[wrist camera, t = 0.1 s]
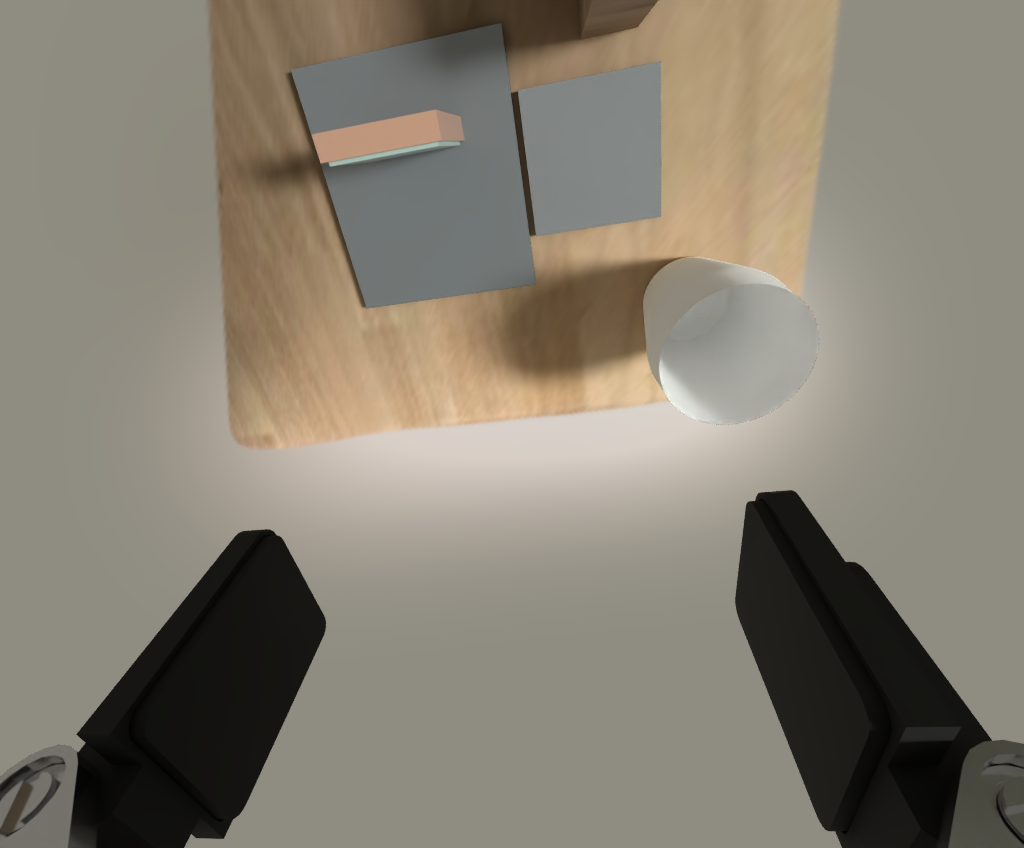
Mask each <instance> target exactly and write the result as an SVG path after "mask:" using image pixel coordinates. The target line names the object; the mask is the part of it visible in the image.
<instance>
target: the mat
mask: <svg viewBox="0 0 1024 848" xmlns="http://www.w3.org/2000/svg"><path fill="white" fill-rule="evenodd" d="M291 72H292V75H293V79H294V82H295V85H296V88H297V91H298V94H299V97H300V101H301V104H302V107H303V110H304V113H305V116H306V119H307V123H308V126H309V129H310V132H311V135H312V134H316V133H321V132H326V131H331V130H336V129H341V128H346V127H351V126H356V125H361V124H366V123H371V122H376V121H381V120H386V119H391V118H396V117H401V116H406V115H411V114H416V113H421V112H426V111H431V110H439V111H443V112H446V113H450V114H453V115H457V116H460V117H461V122H462V128H463V133H464V139H465V141H460V145H459V146H453V147H448V148H443V149H437V150H432V151H427V152H422V153H416V154H411V155H406V156H400V157H395V158H390V159H384V160H379V161H374V162H367V163H358V164H349V165H340V166H331V167H330V165H329V163H321V167H322V170H323V173H324V176H325V179H326V182H327V185H328V189H329V192H330V195H331V198H332V201H333V204H334V207H335V211H336V214H337V217H338V220H339V223H340V226H341V229H342V233H343V236H344V239H345V242H346V245H347V248H348V251H349V255H350V258H351V261H352V264H353V267H354V270H355V273H356V277H357V280H358V283H359V286H360V289H361V292H362V295H363V299H364V302H365V305H366V308H374V307H381V306H388V305H395V304H402V303H409V302H416V301H423V300H430V299H437V298H444V297H451V296H458V295H465V294H472V293H479V292H486V291H493V290H500V289H507V288H514V287H521V286H528V285H535V284H536V279H535V272H534V264H533V257H532V249H531V242H530V234H529V226H528V219H527V211H526V204H525V196H524V189H523V181H522V173H521V166H520V158H519V151H518V143H517V135H516V128H515V120H514V113H513V105H512V98H511V90H510V82H509V75H508V67H507V60H506V52H505V45H504V37H503V29H502V24H501V23H498V24H494V25H489V26H485V27H481V28H476V29H472V30H467V31H463V32H458V33H454V34H449V35H445V36H440V37H436V38H431V39H427V40H422V41H418V42H413V43H409V44H404V45H400V46H395V47H391V48H386V49H382V50H377V51H373V52H368V53H364V54H359V55H355V56H350V57H346V58H341V59H337V60H332V61H328V62H324V63H319V64H315V65H310V66H306V67H301V68H297V69H292V70H291ZM314 145H315V144H314ZM315 148H316V147H315ZM316 151H317V150H316ZM317 154H318V153H317ZM318 157H319V156H318Z"/></svg>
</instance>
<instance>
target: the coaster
mask: <svg viewBox="0 0 1024 848" xmlns="http://www.w3.org/2000/svg"><path fill="white" fill-rule="evenodd" d="M518 96H519V104H520V112H521V120H522V128H523V136H524V144H525V152H526V160H527V168H528V176H529V184H530V191H531V199H532V207H533V215H534V223H535V231H536V236H541V235H547V234H554V233H560V232H567V231H573V230H579V229H586V228H592V227H598V226H605V225H611V224H617V223H624V222H630V221H637V220H643V219H649V218H656V217H661V61H660V62H655V63H650V64H645V65H640V66H635V67H630V68H625V69H620V70H615V71H610V72H605V73H600V74H595V75H591V76H586V77H581V78H576V79H571V80H566V81H561V82H556V83H551V84H546V85H541V86H536V87H531V88H526V89H521V90H518Z"/></svg>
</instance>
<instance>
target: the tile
mask: <svg viewBox="0 0 1024 848" xmlns="http://www.w3.org/2000/svg"><path fill="white" fill-rule="evenodd" d="M312 138H313V141H314V144H315V147H316V150H317V153H318V156H319V160H320V163H329V165H330V167H331V166H340V165H349V164H358V163H367V162H374V161H379V160H384V159H390V158H395V157H400V156H406V155H411V154H416V153H422V152H427V151H432V150H437V149H443V148H448V147H453V146H459V145H460V141H465V139H464V133H463V128H462V122H461V117H460V116H457V115H453V114H450V113H446V112H443V111H439V110H431V111H426V112H421V113H416V114H411V115H406V116H401V117H396V118H391V119H386V120H381V121H376V122H371V123H366V124H361V125H356V126H351V127H346V128H341V129H336V130H331V131H326V132H321V133H316V134H312Z"/></svg>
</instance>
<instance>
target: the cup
mask: <svg viewBox="0 0 1024 848" xmlns="http://www.w3.org/2000/svg"><path fill="white" fill-rule="evenodd" d="M643 313H644V325H645V337H646V348H647V357H648V361H649V365H650V368H651V371H652V373H653V375H654V377H655V379H656V380H657V382H658V383H659V385H660V386H661V388H662V389H663V391H664V393H665V394H666V396H667V398H668V399H669V400H670V402H671V403H672V404H673V405H674V406H675V407H676V408H677V409H678V410H679V411H680V412H682V413H683V414H685V415H686V416H688V417H690V418H692V419H695V420H697V421H700V422H704V423H708V424H716V425H730V424H738V423H743V422H747V421H751V420H754V419H757V418H759V417H762V416H764V415H766V414H768V413H770V412H772V411H774V410H775V409H777V408H778V407H780V406H781V405H782V404H784V403H785V402H786V401H788V400H789V399H790V398H791V397H792V396H793V395H794V394H795V393H796V392H797V391H798V390H799V389H800V388H801V386H802V385H803V384H804V382H805V381H806V380H807V378H808V376H809V375H810V373H811V371H812V369H813V367H814V364H815V361H816V358H817V355H818V350H819V330H818V325H817V323H816V319H815V317H814V315H813V313H812V311H811V310H810V308H809V307H808V306H807V305H806V303H805V302H804V301H803V300H802V299H800V298H799V297H798V296H797V295H795V294H794V293H793V292H791V291H790V290H789V289H788V288H787V287H786V286H785V285H784V284H783V283H782V282H780V281H779V280H778V279H776V278H775V277H773V276H771V275H769V274H767V273H765V272H763V271H760V270H757V269H754V268H749V267H745V266H741V265H736V264H731V263H727V262H722V261H717V260H712V259H708V258H703V257H685V258H681V259H678V260H675V261H673V262H671V263H669V264H667V265H666V266H664V267H663V268H662V269H661V270H659V271H658V272H657V273H656V274H655V276H654V277H653V278H652V280H651V281H650V283H649V284H648V286H647V288H646V291H645V294H644V299H643Z"/></svg>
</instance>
